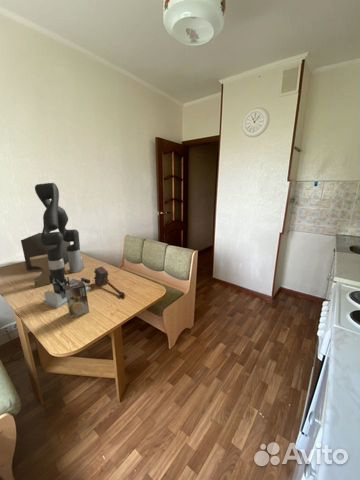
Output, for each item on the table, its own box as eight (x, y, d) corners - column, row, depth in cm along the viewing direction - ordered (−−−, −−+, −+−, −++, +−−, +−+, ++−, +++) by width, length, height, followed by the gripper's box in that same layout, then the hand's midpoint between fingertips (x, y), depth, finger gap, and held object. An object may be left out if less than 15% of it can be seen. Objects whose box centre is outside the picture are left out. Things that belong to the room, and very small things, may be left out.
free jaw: (80, 282, 137) (80, 275, 136) (92, 285, 133) (91, 278, 131) (69, 287, 130) (68, 280, 128) (81, 291, 125) (80, 284, 124)
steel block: (63, 294, 122) (60, 280, 120) (68, 295, 120) (66, 282, 118) (55, 298, 118) (52, 284, 116) (61, 299, 116) (58, 285, 114)
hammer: (102, 277, 144) (102, 265, 141) (129, 302, 125) (129, 289, 122) (93, 280, 140) (93, 268, 136) (119, 307, 121) (120, 293, 117)
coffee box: (86, 306, 112) (83, 280, 108) (89, 312, 107) (85, 285, 103) (68, 312, 107) (64, 285, 103) (70, 318, 102) (65, 290, 98)
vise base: (77, 285, 136) (76, 276, 134) (90, 289, 131) (89, 280, 129) (43, 303, 115) (41, 293, 114) (57, 308, 111) (55, 297, 109)
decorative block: (35, 287, 133) (29, 259, 127) (34, 284, 137) (29, 257, 132) (55, 282, 140) (50, 255, 134) (53, 280, 144) (48, 253, 139)
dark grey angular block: (44, 259, 185) (39, 232, 178) (72, 258, 187) (68, 232, 181) (27, 270, 161) (20, 240, 154) (60, 268, 163) (55, 239, 157)
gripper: (71, 266, 115) (75, 291, 119) (55, 262, 120) (59, 286, 125) (59, 271, 108) (63, 297, 112) (42, 266, 114) (47, 292, 118)
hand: (61, 291), depth 118 cm, fingers open, 8 cm apart
